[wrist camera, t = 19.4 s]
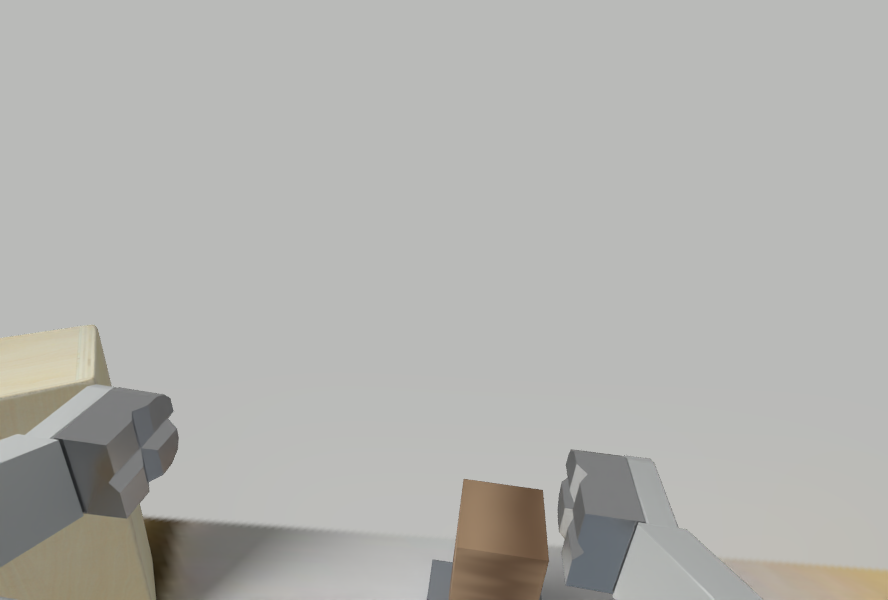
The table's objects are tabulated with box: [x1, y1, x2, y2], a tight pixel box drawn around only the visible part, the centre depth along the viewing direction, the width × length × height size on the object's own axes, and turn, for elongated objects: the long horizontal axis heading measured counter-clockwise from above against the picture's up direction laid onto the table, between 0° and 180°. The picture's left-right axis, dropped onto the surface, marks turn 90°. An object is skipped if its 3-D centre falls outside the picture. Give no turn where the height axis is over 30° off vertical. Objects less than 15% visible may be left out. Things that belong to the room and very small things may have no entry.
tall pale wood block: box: [0, 325, 156, 600], centre depth 31 cm, size 8×7×21 cm
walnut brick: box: [449, 479, 549, 600], centre depth 32 cm, size 5×5×10 cm
